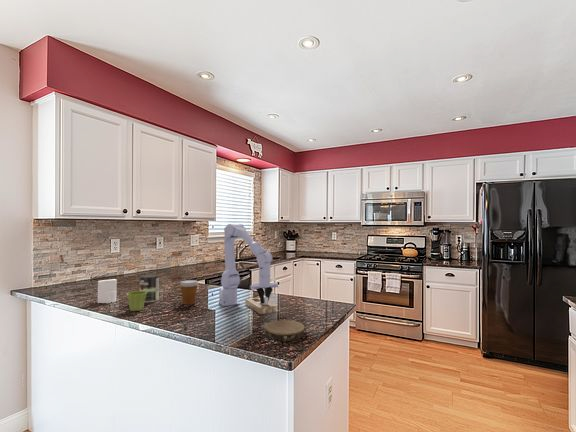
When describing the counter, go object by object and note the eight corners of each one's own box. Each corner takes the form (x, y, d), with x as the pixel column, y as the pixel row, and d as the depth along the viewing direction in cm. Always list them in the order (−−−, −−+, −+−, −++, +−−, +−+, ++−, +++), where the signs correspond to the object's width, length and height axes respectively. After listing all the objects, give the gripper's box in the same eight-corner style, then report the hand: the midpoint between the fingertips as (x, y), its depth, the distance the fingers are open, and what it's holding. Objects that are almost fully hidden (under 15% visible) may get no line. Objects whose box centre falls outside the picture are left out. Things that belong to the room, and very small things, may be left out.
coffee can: (148, 303, 164) (148, 277, 165) (134, 301, 168) (135, 276, 169) (162, 299, 174) (163, 274, 174) (149, 297, 178) (149, 273, 178)
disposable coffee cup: (187, 306, 159) (187, 283, 159) (176, 303, 164) (176, 281, 164) (201, 302, 167) (201, 280, 167) (190, 300, 172) (190, 279, 172)
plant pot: (121, 311, 149) (122, 293, 149) (137, 306, 158) (137, 290, 158) (135, 313, 146) (136, 295, 146) (150, 308, 155) (151, 291, 155)
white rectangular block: (99, 304, 162) (99, 282, 162) (96, 301, 168) (96, 280, 169) (117, 301, 168) (118, 280, 168) (114, 298, 174) (114, 278, 175)
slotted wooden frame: (260, 314, 145) (260, 308, 145) (245, 304, 162) (245, 299, 163) (276, 311, 149) (276, 305, 149) (260, 302, 167) (260, 297, 167)
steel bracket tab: (264, 311, 149) (264, 297, 149) (260, 309, 153) (260, 295, 154) (268, 311, 150) (268, 297, 150) (264, 308, 154) (264, 295, 155)
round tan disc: (310, 330, 124) (310, 323, 124) (295, 344, 109) (295, 336, 109) (275, 325, 130) (275, 318, 130) (257, 337, 116) (257, 329, 116)
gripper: (254, 278, 145) (254, 306, 145) (280, 275, 152) (280, 302, 152) (249, 276, 151) (248, 303, 151) (274, 273, 158) (274, 299, 158)
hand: (264, 302), depth 152 cm, fingers closed on steel bracket tab, 2 cm apart
